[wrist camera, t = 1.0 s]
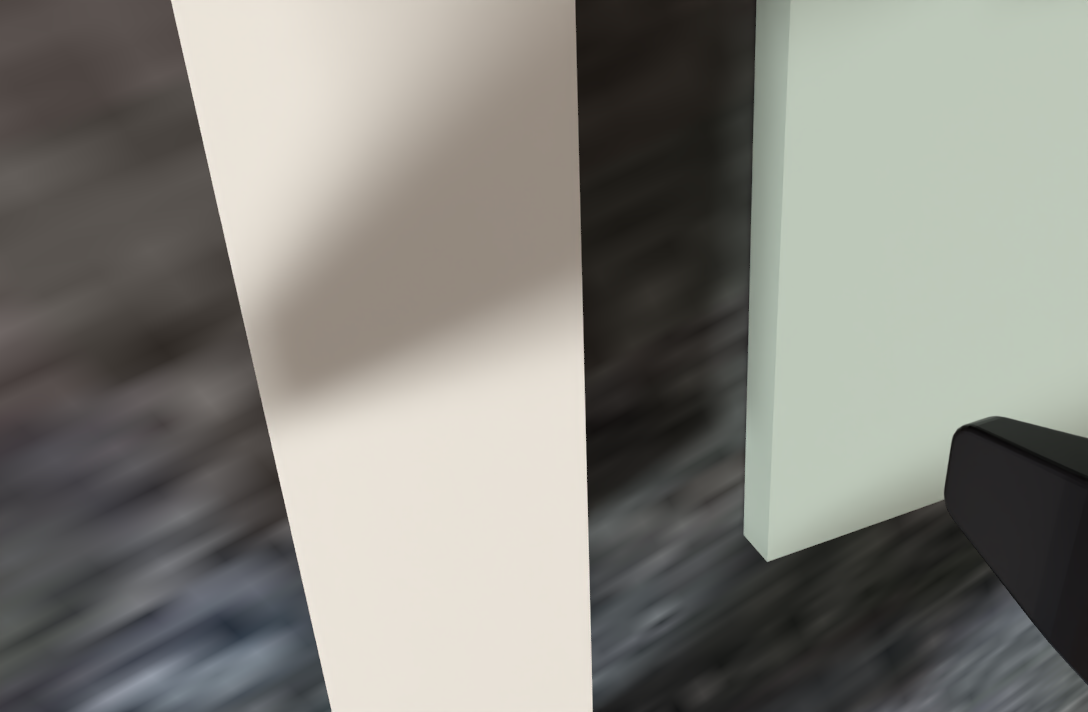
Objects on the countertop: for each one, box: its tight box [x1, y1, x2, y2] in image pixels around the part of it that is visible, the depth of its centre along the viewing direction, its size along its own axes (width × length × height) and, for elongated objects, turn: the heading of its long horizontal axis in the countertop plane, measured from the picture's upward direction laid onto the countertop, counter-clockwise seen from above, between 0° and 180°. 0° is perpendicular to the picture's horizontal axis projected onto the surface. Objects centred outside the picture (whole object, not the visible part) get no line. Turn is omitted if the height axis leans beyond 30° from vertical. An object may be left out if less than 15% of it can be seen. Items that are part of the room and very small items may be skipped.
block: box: [171, 0, 593, 712], centre depth 13 cm, size 16×4×6 cm, turn 2°
